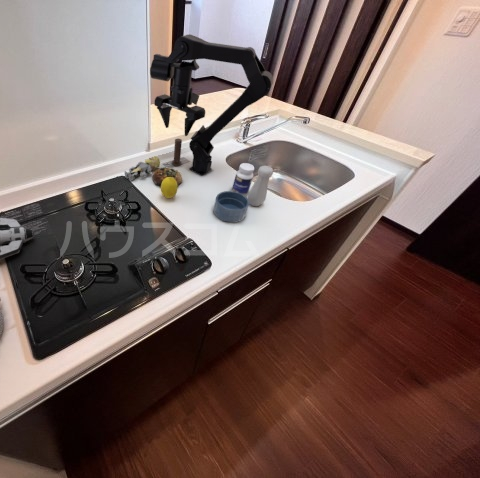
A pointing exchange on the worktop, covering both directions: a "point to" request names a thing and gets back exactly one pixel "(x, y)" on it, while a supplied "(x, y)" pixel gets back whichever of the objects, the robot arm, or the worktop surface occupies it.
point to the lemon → (169, 187)
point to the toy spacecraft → (12, 237)
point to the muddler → (177, 152)
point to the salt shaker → (260, 186)
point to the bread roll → (166, 175)
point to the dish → (1, 321)
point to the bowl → (231, 206)
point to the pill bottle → (243, 179)
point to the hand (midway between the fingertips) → (176, 131)
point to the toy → (143, 168)
